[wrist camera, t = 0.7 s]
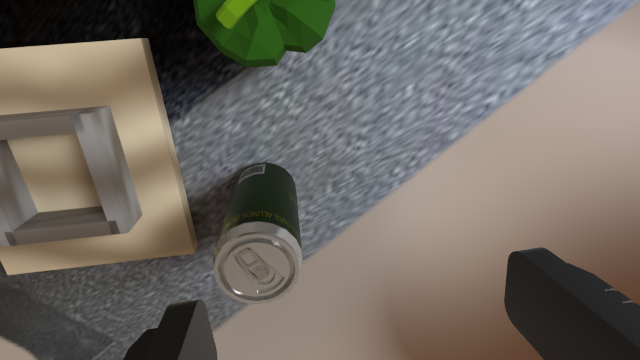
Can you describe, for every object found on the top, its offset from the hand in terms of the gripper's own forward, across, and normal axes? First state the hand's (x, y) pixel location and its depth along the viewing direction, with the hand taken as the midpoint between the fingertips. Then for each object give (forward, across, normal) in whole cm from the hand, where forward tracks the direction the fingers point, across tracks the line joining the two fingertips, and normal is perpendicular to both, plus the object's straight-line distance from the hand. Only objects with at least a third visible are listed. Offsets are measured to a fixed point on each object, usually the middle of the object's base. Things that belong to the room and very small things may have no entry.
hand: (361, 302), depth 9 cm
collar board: (+22, +19, 0) cm, 29 cm away
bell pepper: (+22, +2, -10) cm, 24 cm away
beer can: (+22, +4, +4) cm, 23 cm away
